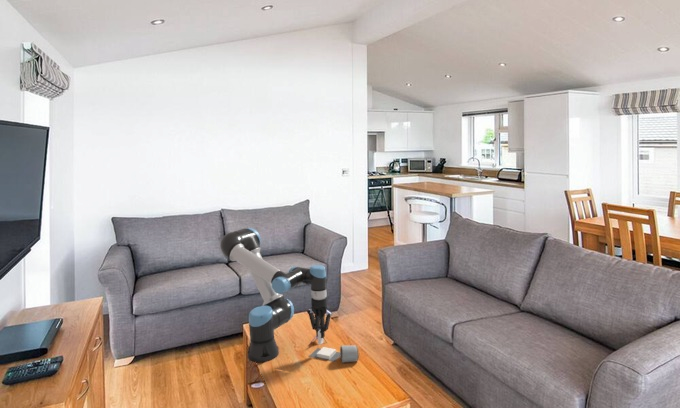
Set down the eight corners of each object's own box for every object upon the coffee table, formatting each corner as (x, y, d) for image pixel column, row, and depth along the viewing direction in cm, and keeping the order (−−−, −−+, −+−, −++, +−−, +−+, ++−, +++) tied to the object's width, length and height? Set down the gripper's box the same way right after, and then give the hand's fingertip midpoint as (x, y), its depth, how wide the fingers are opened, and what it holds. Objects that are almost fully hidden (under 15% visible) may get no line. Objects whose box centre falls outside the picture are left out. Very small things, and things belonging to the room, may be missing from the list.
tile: (316, 353, 205) (329, 356, 202) (323, 346, 211) (335, 349, 208) (316, 356, 205) (329, 359, 202) (323, 350, 212) (336, 352, 208)
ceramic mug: (359, 363, 198) (359, 348, 197) (342, 365, 197) (341, 350, 196) (355, 353, 209) (354, 338, 208) (338, 355, 207) (338, 340, 206)
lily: (328, 337, 228) (319, 322, 229) (339, 336, 219) (329, 320, 219) (311, 351, 222) (302, 335, 222) (321, 351, 212) (312, 334, 212)
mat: (308, 357, 206) (308, 356, 206) (317, 348, 214) (317, 348, 214) (334, 362, 200) (334, 361, 200) (342, 353, 208) (342, 353, 208)
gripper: (303, 298, 203) (305, 344, 207) (327, 302, 198) (329, 349, 201) (311, 293, 210) (312, 338, 214) (334, 296, 204) (336, 342, 208)
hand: (320, 343), depth 207 cm, fingers closed
